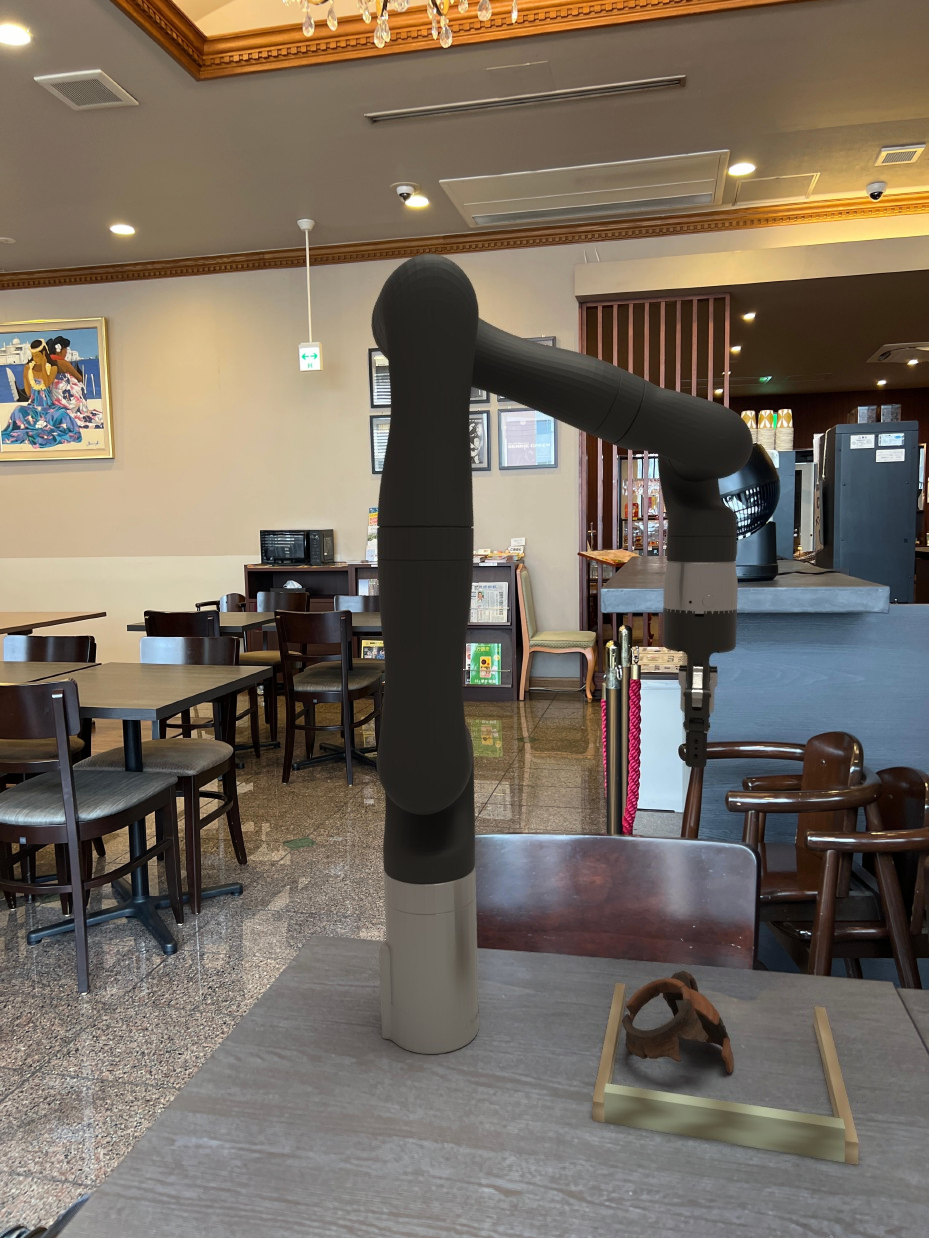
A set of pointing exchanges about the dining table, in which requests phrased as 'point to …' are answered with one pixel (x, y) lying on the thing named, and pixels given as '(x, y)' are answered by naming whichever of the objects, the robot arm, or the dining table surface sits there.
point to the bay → (730, 1106)
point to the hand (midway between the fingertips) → (695, 765)
